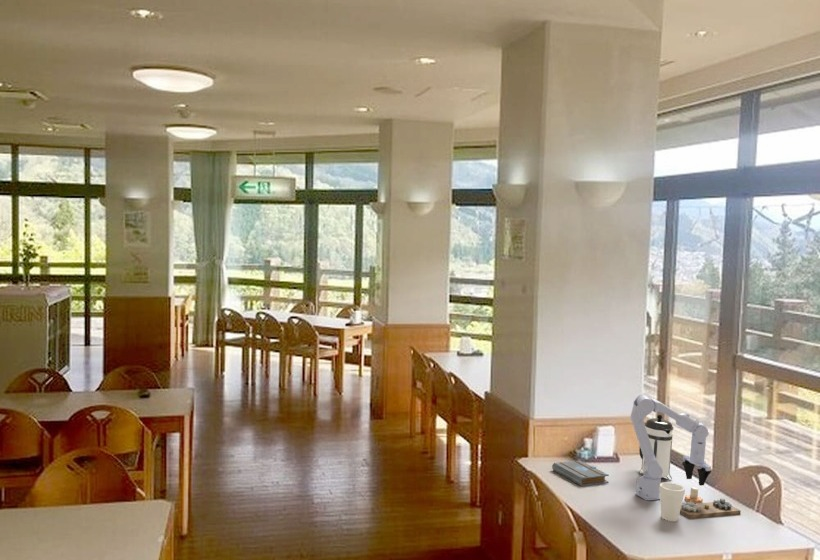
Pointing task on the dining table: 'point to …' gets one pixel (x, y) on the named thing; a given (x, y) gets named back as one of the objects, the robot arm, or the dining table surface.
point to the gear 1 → (691, 507)
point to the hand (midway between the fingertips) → (695, 481)
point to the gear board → (709, 511)
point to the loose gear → (693, 496)
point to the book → (580, 472)
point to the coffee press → (660, 443)
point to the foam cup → (671, 500)
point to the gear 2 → (722, 504)
